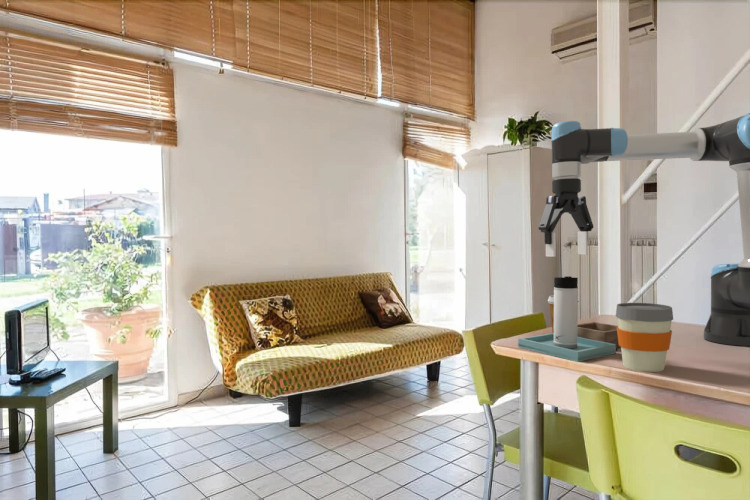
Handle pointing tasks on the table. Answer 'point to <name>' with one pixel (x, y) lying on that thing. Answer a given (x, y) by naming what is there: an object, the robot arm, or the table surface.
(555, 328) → the travel mug
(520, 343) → the tray
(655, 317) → the reusable coffee cup
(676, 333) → the table surface
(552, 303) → the disposable coffee cup
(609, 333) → the brown wooden crate
